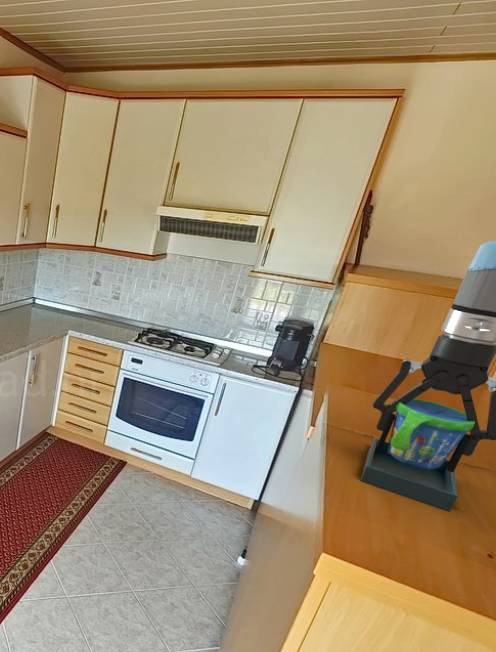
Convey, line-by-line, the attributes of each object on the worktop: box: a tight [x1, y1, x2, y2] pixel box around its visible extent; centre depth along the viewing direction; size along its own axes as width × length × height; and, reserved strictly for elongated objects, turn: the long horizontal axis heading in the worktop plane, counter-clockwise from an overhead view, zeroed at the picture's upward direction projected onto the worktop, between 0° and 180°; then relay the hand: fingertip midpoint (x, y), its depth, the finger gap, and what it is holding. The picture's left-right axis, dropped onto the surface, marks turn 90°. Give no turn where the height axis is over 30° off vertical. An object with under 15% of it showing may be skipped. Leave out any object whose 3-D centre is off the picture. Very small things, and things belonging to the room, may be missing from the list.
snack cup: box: [388, 398, 475, 470], centre depth 87 cm, size 16×10×10 cm
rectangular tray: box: [359, 437, 459, 513], centre depth 89 cm, size 12×18×3 cm
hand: (413, 457), depth 88 cm, fingers closed on snack cup, 9 cm apart
